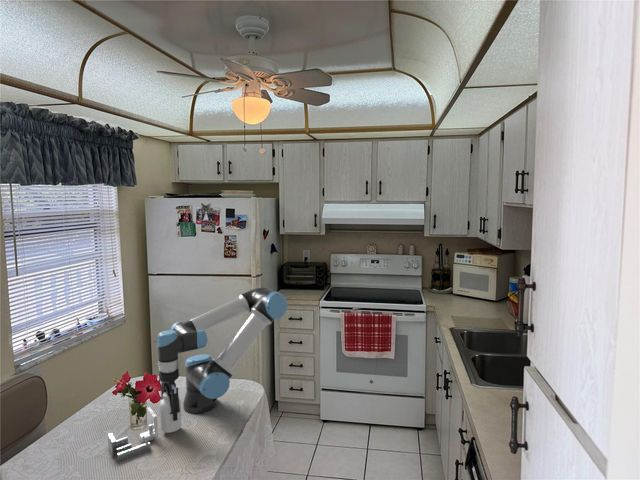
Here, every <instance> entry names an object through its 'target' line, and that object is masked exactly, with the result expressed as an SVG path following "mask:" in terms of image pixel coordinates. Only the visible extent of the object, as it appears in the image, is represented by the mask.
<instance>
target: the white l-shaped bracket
mask: <svg viewBox="0 0 640 480" xmlns="http://www.w3.org/2000/svg"><path fill="white" fill-rule="evenodd" d="M146 413H147V414H146V416H147V417H146V418H147V428H148V430H146V431H145V432H141V433H139V435H138V436H139V440H140V441H141V444H145V443H146V445H147V444H148V442H150V441H153V440H154V437H157V436H159V431H158V430H159V429H158V416H157V414H156V413H155V412H154V409H152V408H151V406H148V407H146Z"/></svg>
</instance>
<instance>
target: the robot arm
mask: <svg viewBox="0 0 640 480" xmlns="http://www.w3.org/2000/svg"><path fill="white" fill-rule="evenodd" d="M287 309H288V301H287V299H286V296H285V295H284V294H282V293H281V292H279V291H276V290H272V289H269V288H267V287H257V288H252V289H251V290H247V291H246V292H244V293H242V294H241V293H240V294H239V295H238V297H237V298H236V299H233V300H231V301H229V302H228V301H227V303H224V304H221V305H220V306H218V307H215V308H213V309H211V310H209V311H207V312H205V313H203V314H199V315H197V316H196V317H193V318H191V319H189V320H187V321H184V322H183V321H177V322H175V323H173V324H172V325H171V326H170V329H169V330H163V331H161V332H159V333H158V334H157V344H156V345H157V357H158V360H157V361H158V363H157V365H156V366H157V367H158V379H159V381H160V383H161V389H160V394H161V395H160V396H161V397H160V399H161V400H162V399H163V393H164V392H167V396H169V401H170V407H171V413H170V415H171V429H173V428H176V427H178V412H180V406H179V399H180V397H179V387H177V383H176V380H178V379H179V376H180V374H179V373H180V369H179V354H180V353H185V352H191V351H194V350H195V351H196V350H199V349H203V348H205V347H206V346H207V344H208V335H207V333H206V331H208V330H210V329H212V328H214V327H217V326H218V325H221V324H223V323H225V322H227V321H230V320H232V319H234V318H235V317H238V316H240V315H242V314H244V313H245V314H249V313H251V314H249V316H248V317H247V318H246V319H245V321H244V322H243V324H242V325H241V327H240V328H239V329H237V332H236V333H235V334H234V335H233V337H232V338H231V339H230V341H228V343H227V345H225V346H224V348H223V350H222V351H221V352H220V354H219V355H218V356H217V357H212V355H210V354H207V353H206V354H203V353H202V354H196V355H193V356H190V357H188V358H187V359H185V366H184V368H185V381H186V382H185V383H186V386H185V387H186V391H185V394H184V399H183V402H182V407H183V410H184V411H185V412H187V413H190V414H202V413H205V412H209V411H211V410H213V409H214V408H215V407H217V405H218V399H219V398H221V397H222V396H224V395H225V394H226V393H227V391H228V390H229V388H230V383H231V381H230V380H231V378H233V376H234V368H235V367H236V366H237V364H238V363H239V362H240V360H241V359H242V358H243V357H244V355H245V354H246V353H247V351H248V350H249V348H251V346H252V344H253V343H254V342H255V341H256V339H257V338H258V337H259V336H260V334H261V332H262V331H264V329H265V327H266V326H269V325H272V323H273V322H274V320H277V319H281V318H282V317H283V316H284V315H285V314H286V312H287ZM169 393H171V394H169Z"/></svg>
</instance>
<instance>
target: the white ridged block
mask: <svg viewBox="0 0 640 480" xmlns="http://www.w3.org/2000/svg"><path fill="white" fill-rule="evenodd" d="M107 442H108V444H107V445H108V451H109V453H110V456H111V457H112V458H117V459H116V460H117V461H118V462H120V461H123V460H125V459H128V458H131V457H134V456H137V455H138V454H142V453H144V452H146V451H149V450H151V449H152V448H151V446H152V445H151V442H150V441H148V444H147V445H146V443H141V444H140V445H137V446H134V447H133V445H132V443H129V438H128V436H125V437H122V438H119V439H116V438H115V436H114V433H113V432H109V433H107Z"/></svg>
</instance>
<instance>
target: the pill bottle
mask: <svg viewBox="0 0 640 480" xmlns="http://www.w3.org/2000/svg"><path fill="white" fill-rule="evenodd" d="M169 394H171V393H169ZM181 402H182V401H181V399H180V398H179V406H180V412H178V427H176V428H173V429H171V415H170V413H171V407H170V401H169V396H167V392H164V393H163V399H162V400H161V401H160V402H159V411H160V412H159V415H160V416H159V417H160V430H161V431H162V432H163V433H175V432H177V431H179V429H181V427H182V407H181V406H182V405H181V404H182V403H181Z"/></svg>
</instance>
